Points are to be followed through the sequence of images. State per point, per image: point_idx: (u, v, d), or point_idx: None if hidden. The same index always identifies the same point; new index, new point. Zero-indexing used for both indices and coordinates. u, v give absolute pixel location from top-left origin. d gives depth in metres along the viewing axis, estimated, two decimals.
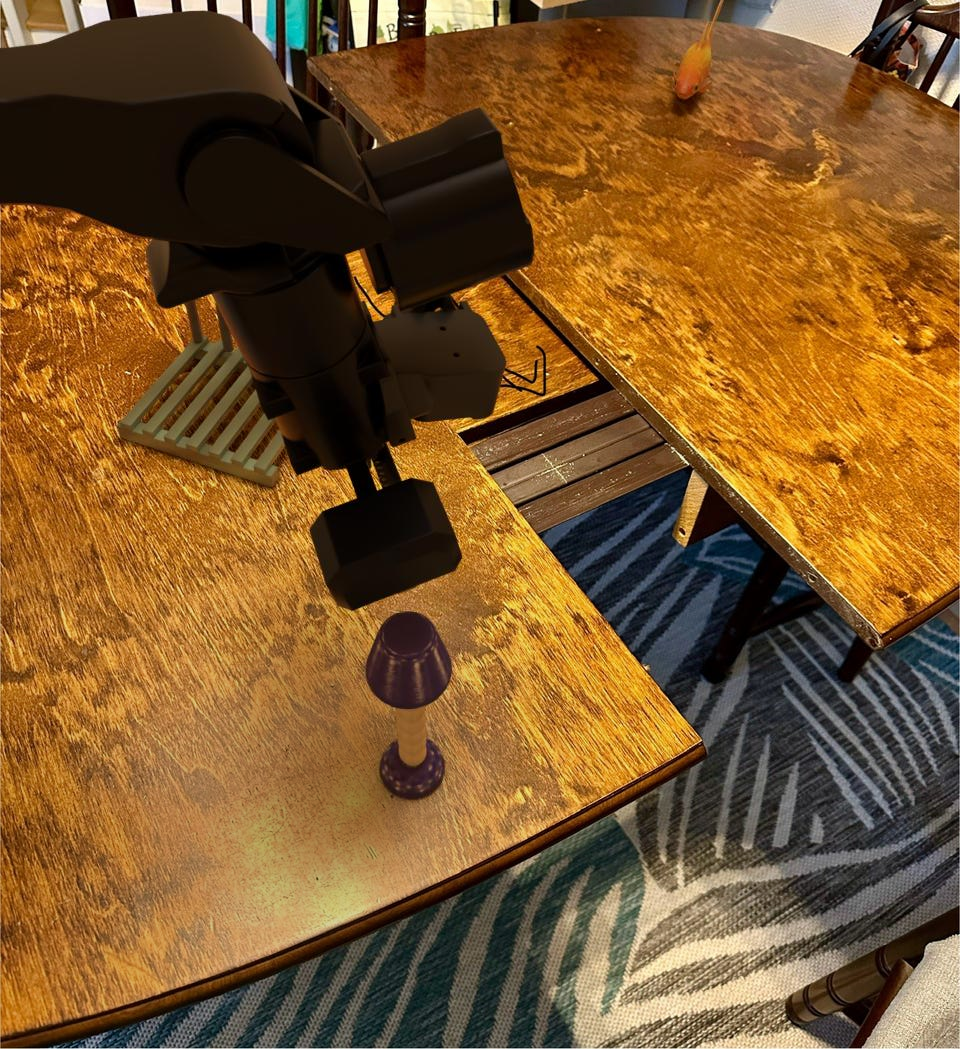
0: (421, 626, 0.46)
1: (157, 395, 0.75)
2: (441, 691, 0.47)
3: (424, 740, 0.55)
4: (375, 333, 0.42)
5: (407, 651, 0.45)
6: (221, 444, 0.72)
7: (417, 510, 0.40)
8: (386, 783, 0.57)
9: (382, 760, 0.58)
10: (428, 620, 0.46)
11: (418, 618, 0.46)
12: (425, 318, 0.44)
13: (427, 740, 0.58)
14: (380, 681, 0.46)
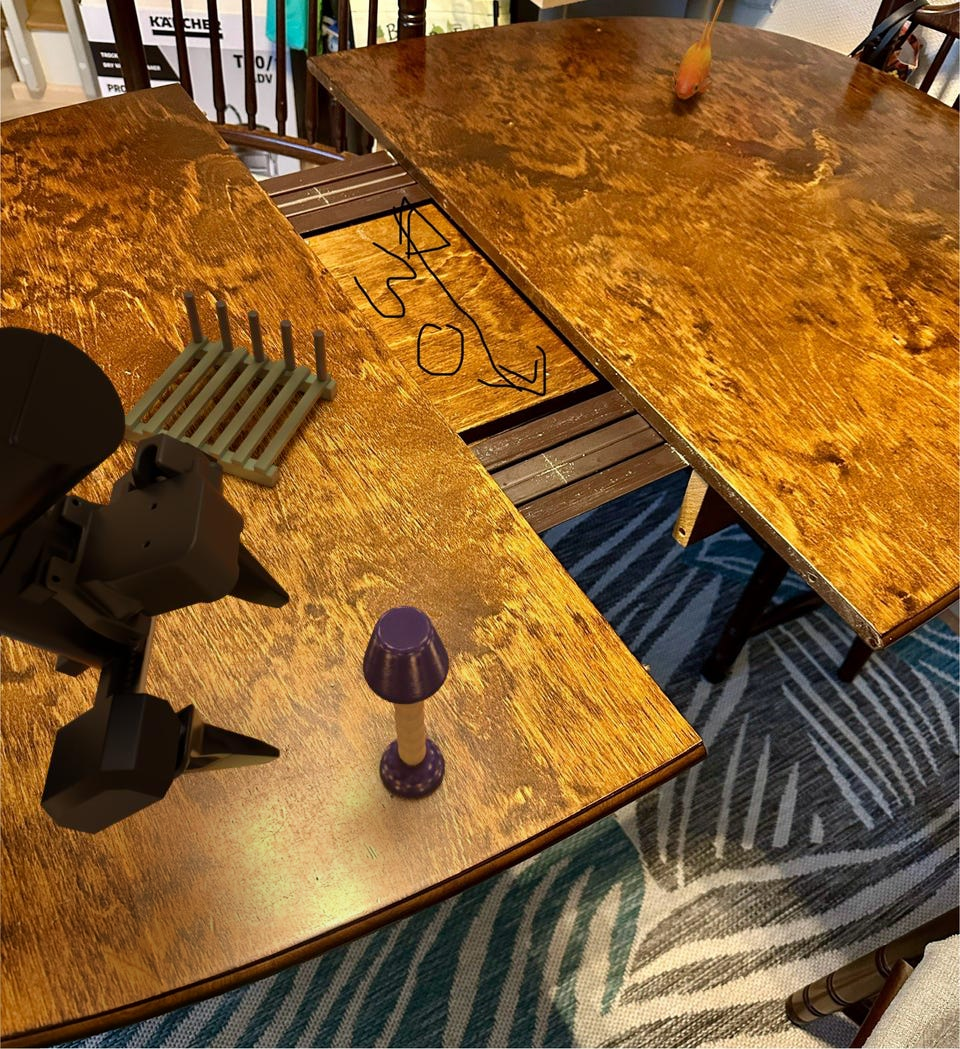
0: (417, 620, 0.46)
1: (157, 395, 0.75)
2: (438, 686, 0.47)
3: (423, 738, 0.55)
4: (82, 530, 0.38)
5: (403, 645, 0.45)
6: (221, 444, 0.72)
7: (100, 739, 0.36)
8: (386, 782, 0.57)
9: (382, 760, 0.58)
10: (424, 614, 0.46)
11: (414, 613, 0.46)
12: (144, 495, 0.38)
13: (427, 739, 0.58)
14: (377, 676, 0.46)
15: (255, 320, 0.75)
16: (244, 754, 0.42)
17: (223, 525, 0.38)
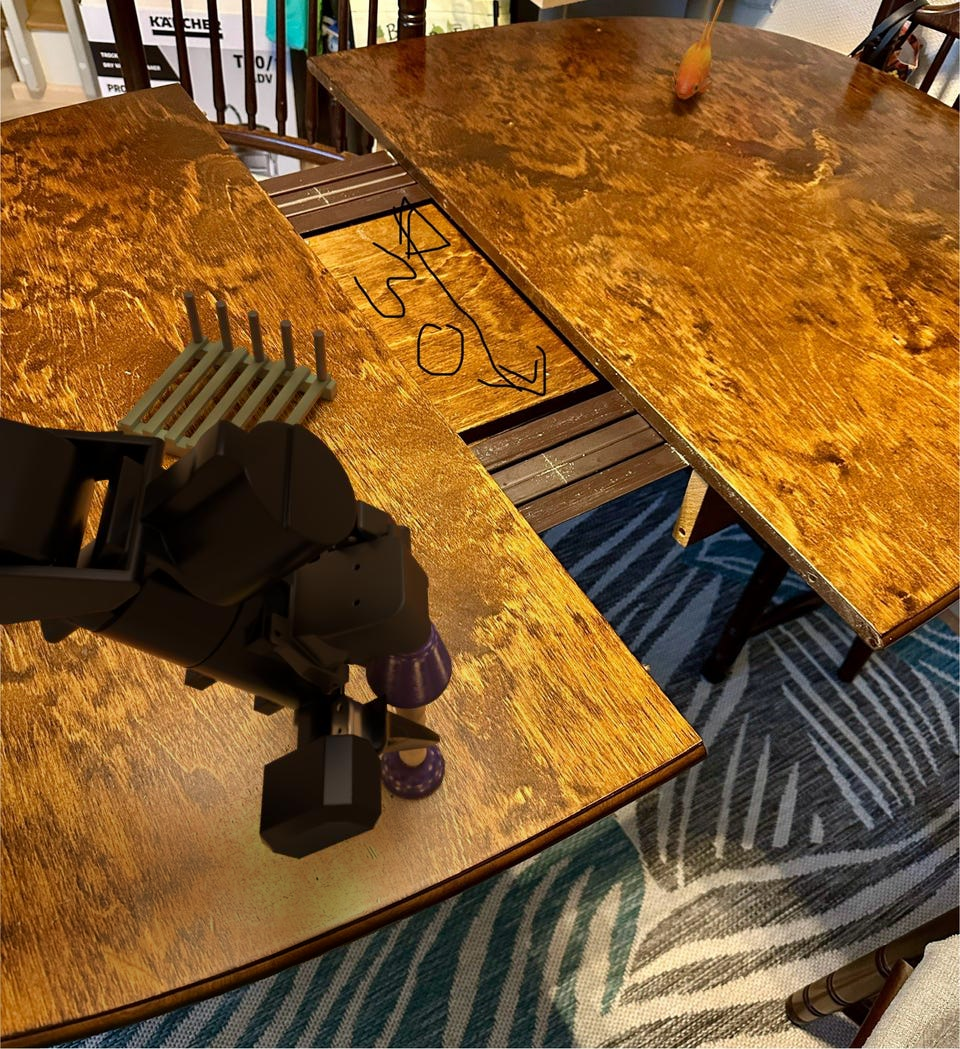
0: None
1: (157, 395, 0.75)
2: (441, 690, 0.47)
3: None
4: (290, 587, 0.43)
5: None
6: None
7: (318, 776, 0.40)
8: (386, 783, 0.57)
9: (382, 760, 0.58)
10: None
11: None
12: (345, 556, 0.43)
13: None
14: (380, 681, 0.46)
15: (255, 320, 0.75)
16: (416, 738, 0.48)
17: (417, 583, 0.42)
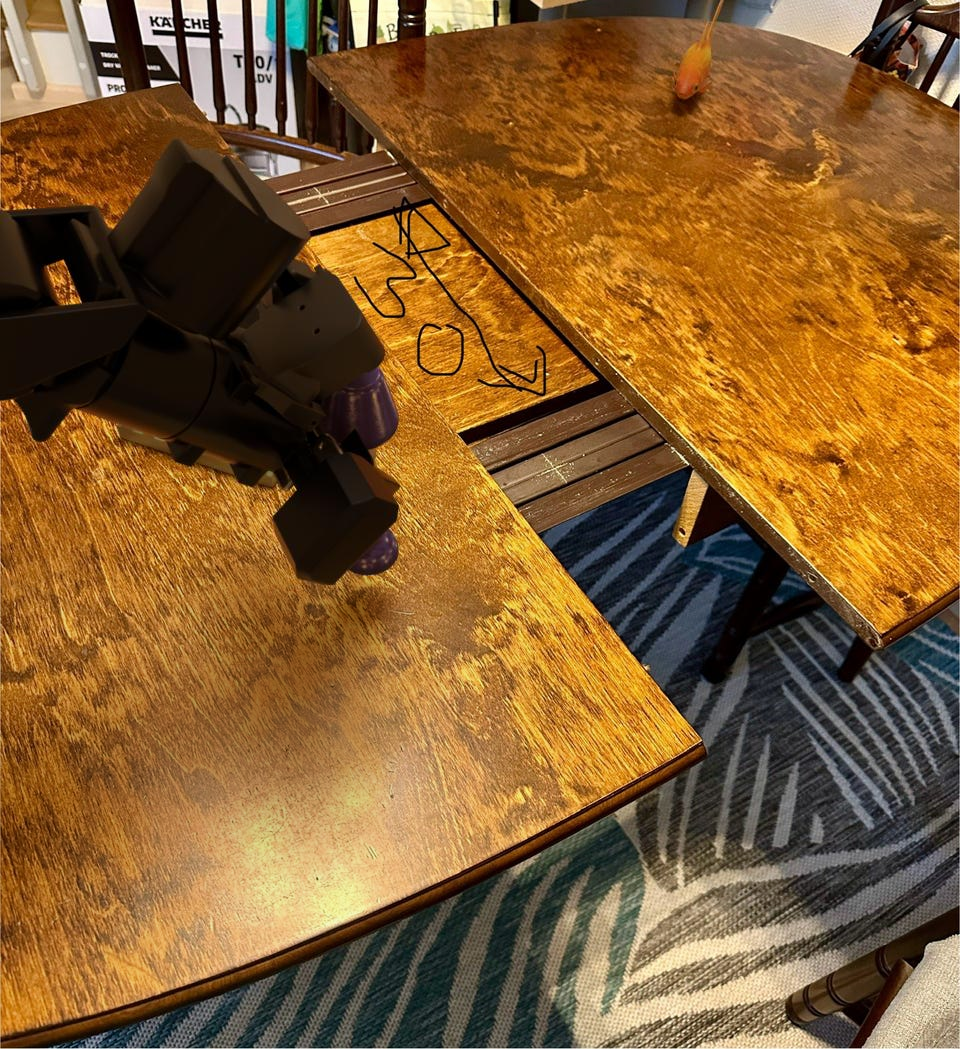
0: None
1: None
2: (396, 425, 0.52)
3: None
4: (245, 345, 0.45)
5: (362, 384, 0.49)
6: None
7: (335, 489, 0.44)
8: (352, 567, 0.61)
9: None
10: None
11: None
12: (285, 304, 0.46)
13: None
14: (343, 426, 0.50)
15: None
16: (384, 479, 0.53)
17: None
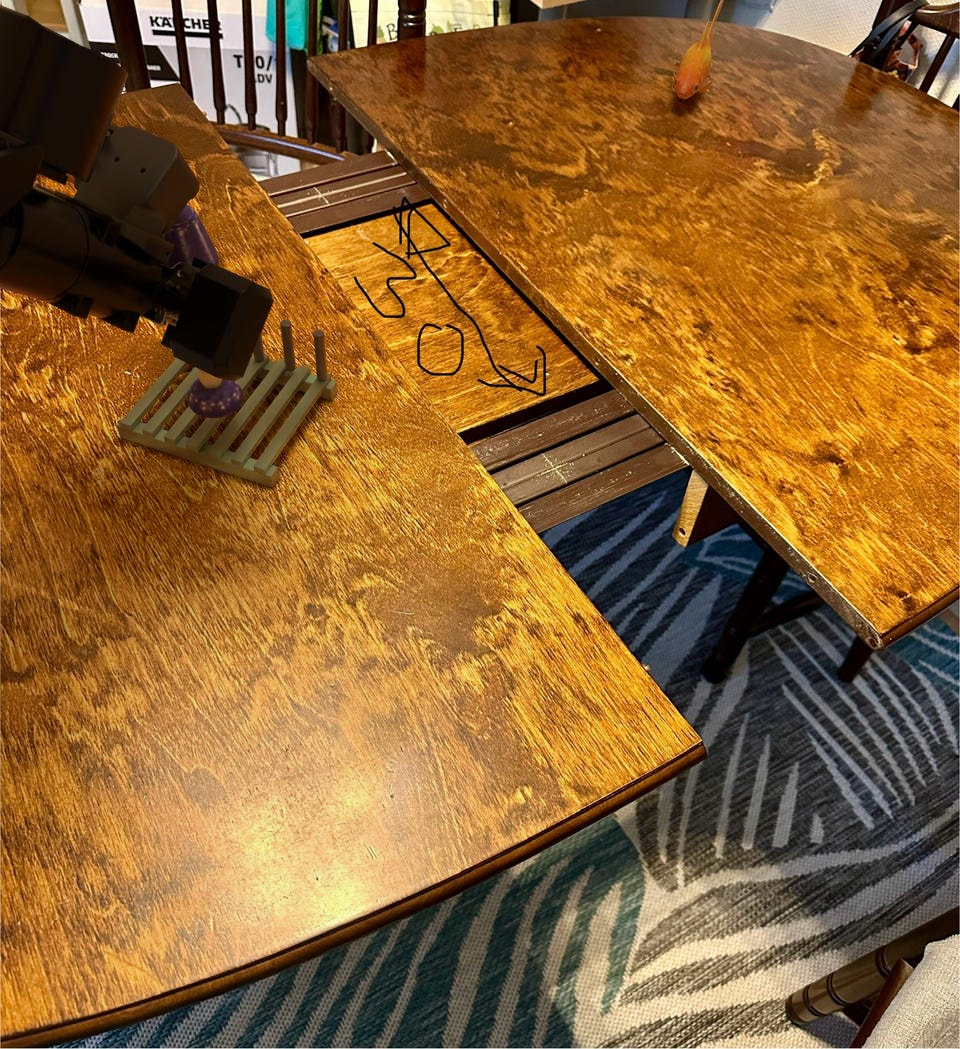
0: None
1: (157, 395, 0.75)
2: (217, 254, 0.61)
3: None
4: (83, 204, 0.52)
5: (184, 218, 0.57)
6: (221, 444, 0.72)
7: (219, 289, 0.53)
8: (212, 412, 0.69)
9: (195, 404, 0.69)
10: None
11: None
12: (99, 162, 0.53)
13: None
14: None
15: None
16: None
17: None
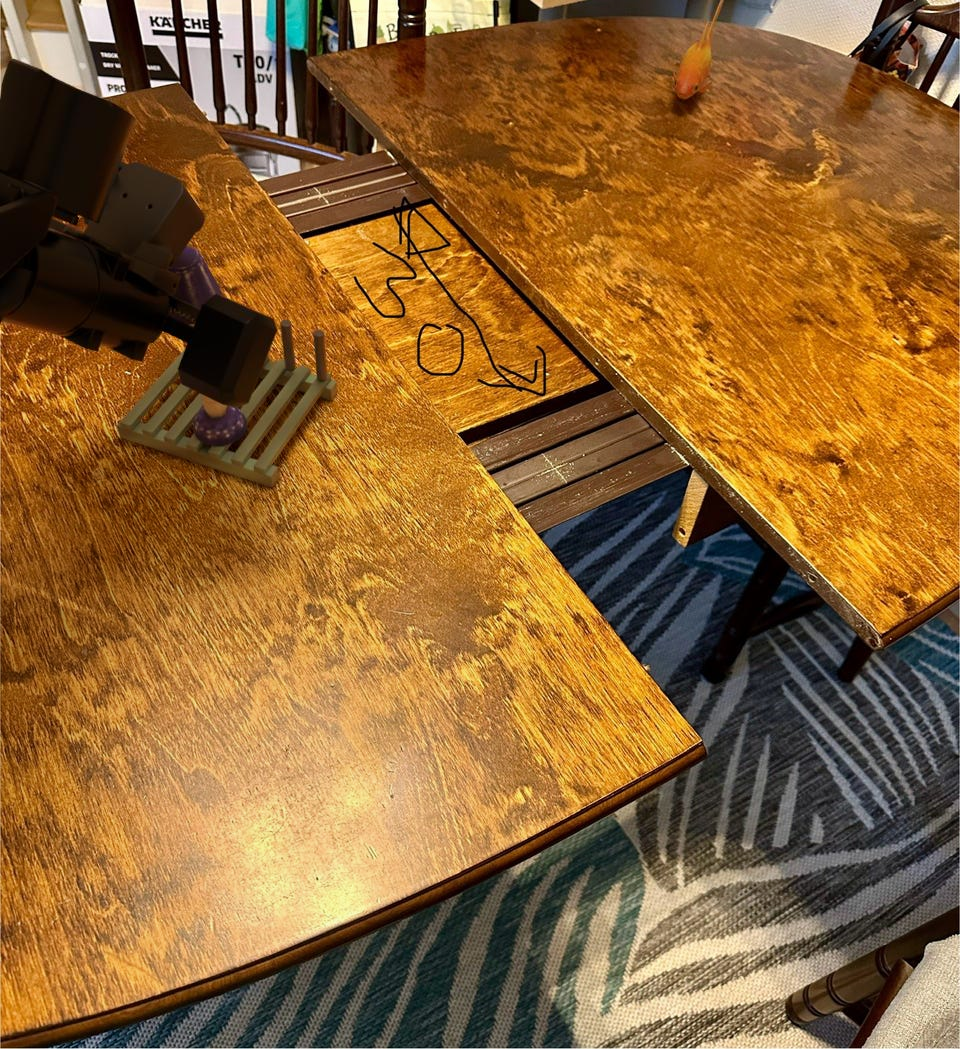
0: None
1: (157, 395, 0.75)
2: (221, 292, 0.63)
3: None
4: (93, 240, 0.54)
5: (190, 261, 0.59)
6: None
7: (225, 320, 0.55)
8: (217, 441, 0.71)
9: (200, 433, 0.71)
10: None
11: None
12: (108, 198, 0.55)
13: None
14: None
15: None
16: None
17: None
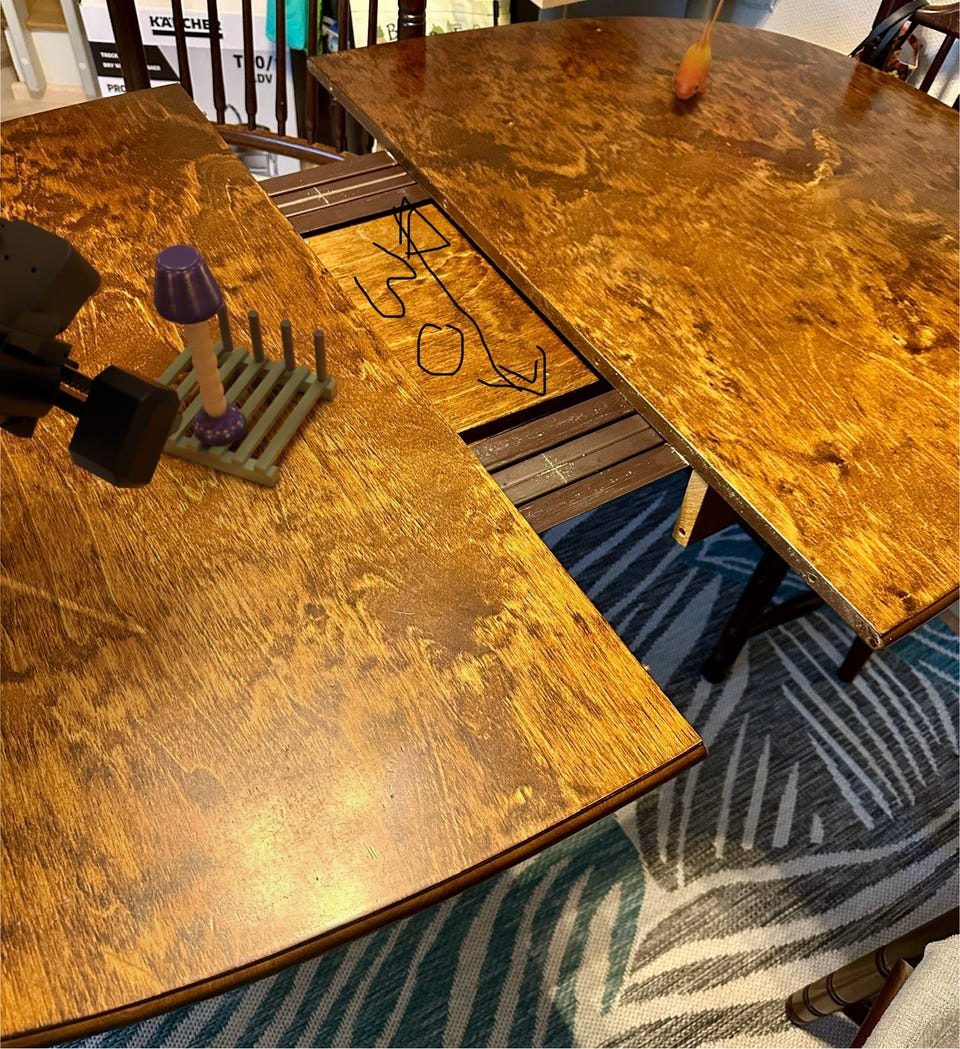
0: (180, 248, 0.60)
1: None
2: (221, 292, 0.63)
3: (219, 381, 0.70)
4: None
5: (190, 261, 0.59)
6: None
7: (118, 395, 0.49)
8: (217, 441, 0.71)
9: (200, 433, 0.71)
10: None
11: (173, 247, 0.60)
12: None
13: None
14: (186, 303, 0.60)
15: (255, 320, 0.75)
16: None
17: None
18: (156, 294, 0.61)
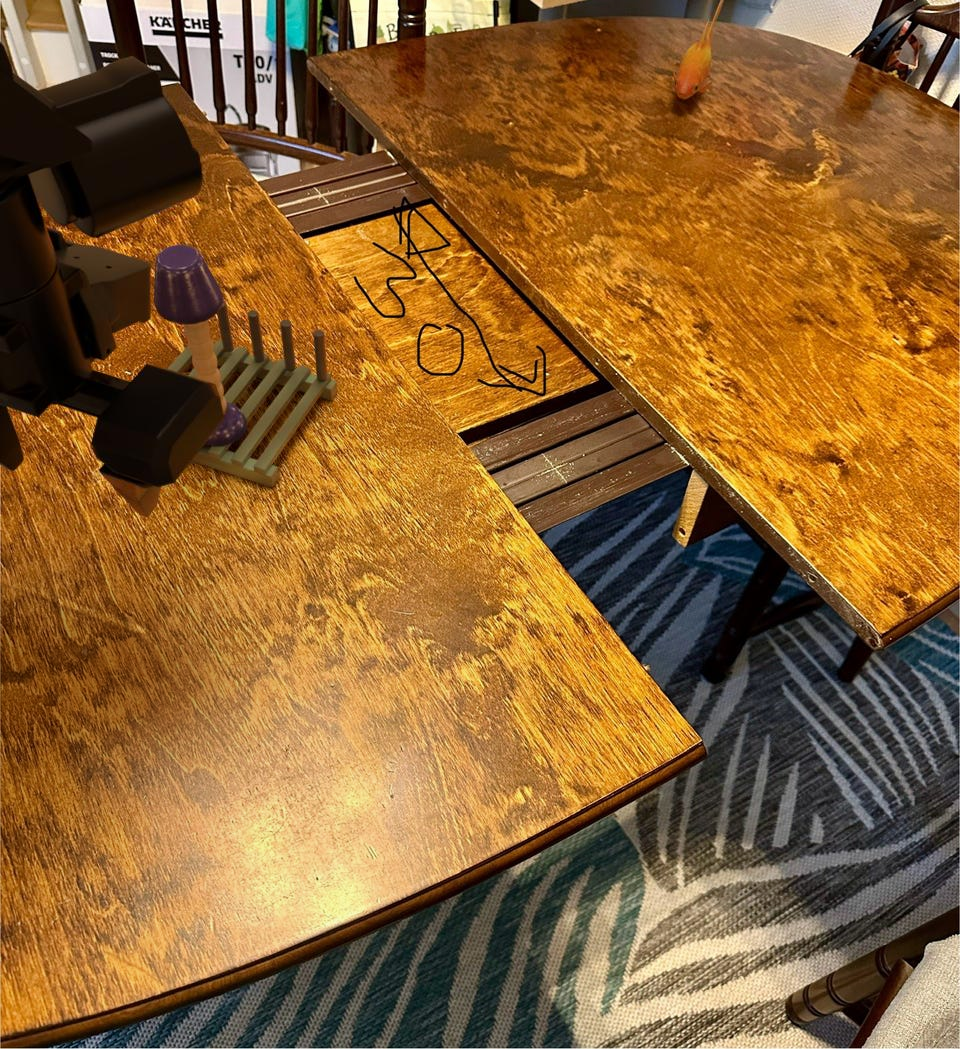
0: (180, 248, 0.60)
1: None
2: (221, 292, 0.63)
3: (219, 381, 0.70)
4: None
5: (190, 261, 0.59)
6: None
7: (175, 378, 0.46)
8: (217, 441, 0.71)
9: None
10: None
11: (173, 247, 0.60)
12: (55, 255, 0.48)
13: None
14: (186, 303, 0.60)
15: (255, 320, 0.75)
16: None
17: None
18: (156, 294, 0.61)
